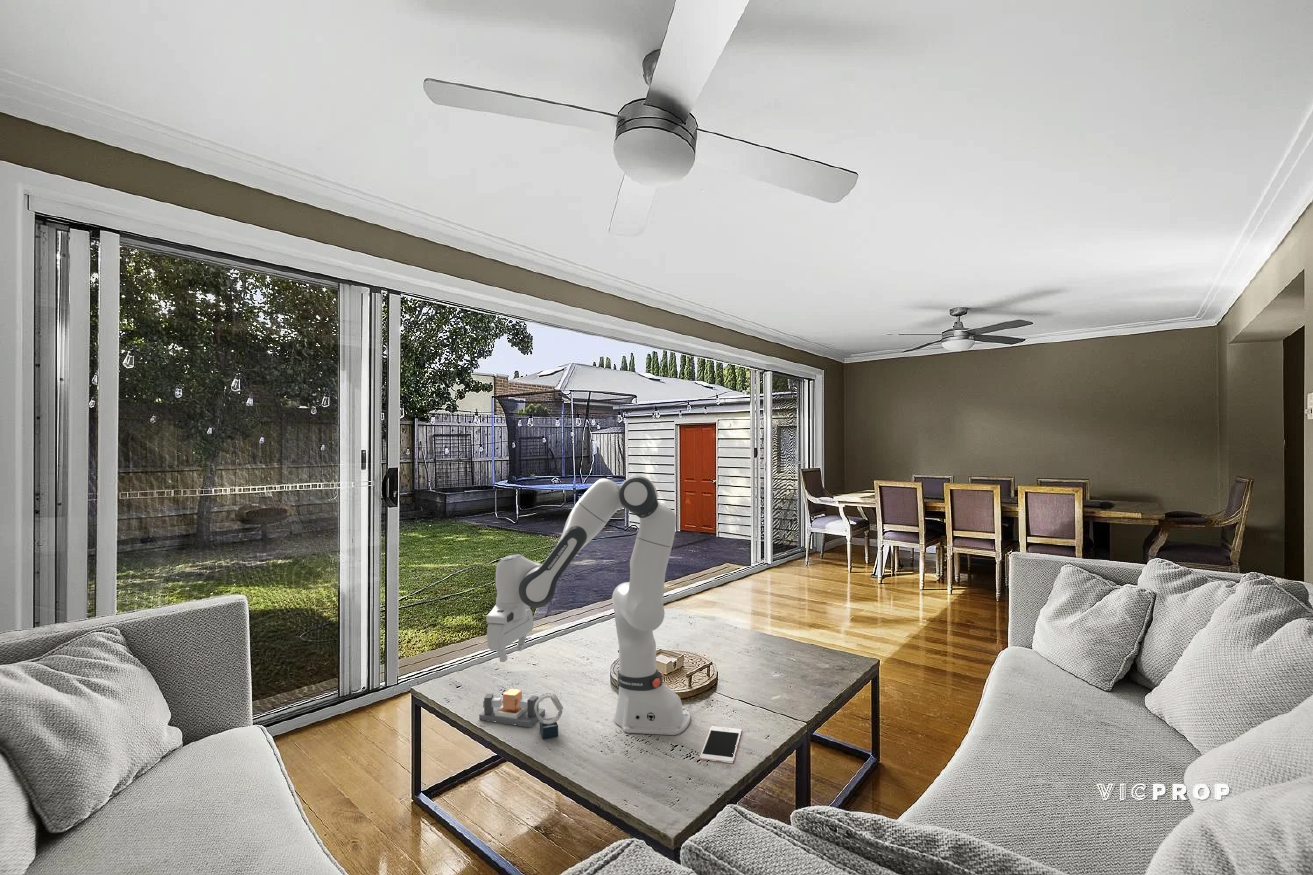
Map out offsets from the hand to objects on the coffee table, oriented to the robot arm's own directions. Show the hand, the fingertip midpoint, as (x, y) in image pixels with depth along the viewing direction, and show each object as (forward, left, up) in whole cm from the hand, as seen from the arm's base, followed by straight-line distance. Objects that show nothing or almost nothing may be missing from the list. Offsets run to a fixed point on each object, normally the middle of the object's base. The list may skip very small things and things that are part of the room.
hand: (512, 655), depth 184 cm
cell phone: (-63, -2, -19) cm, 66 cm away
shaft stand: (0, 0, -18) cm, 18 cm away
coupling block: (0, 0, -17) cm, 17 cm away
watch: (-15, +6, -19) cm, 25 cm away
